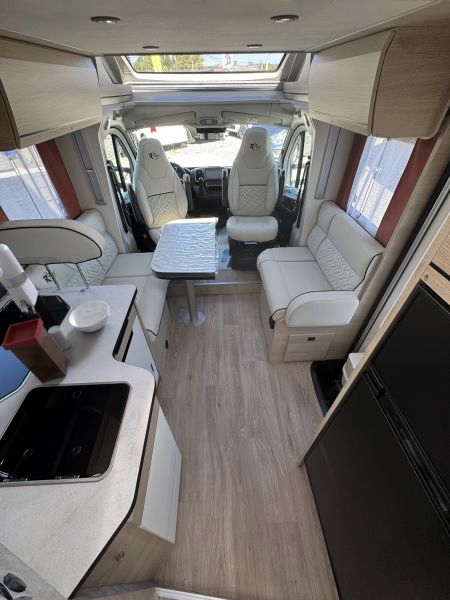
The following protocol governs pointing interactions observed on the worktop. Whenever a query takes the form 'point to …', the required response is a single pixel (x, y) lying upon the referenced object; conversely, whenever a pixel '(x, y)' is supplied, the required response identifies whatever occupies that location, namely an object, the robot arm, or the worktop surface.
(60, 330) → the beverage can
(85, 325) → the bowl
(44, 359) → the pedestal
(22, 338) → the red tray
